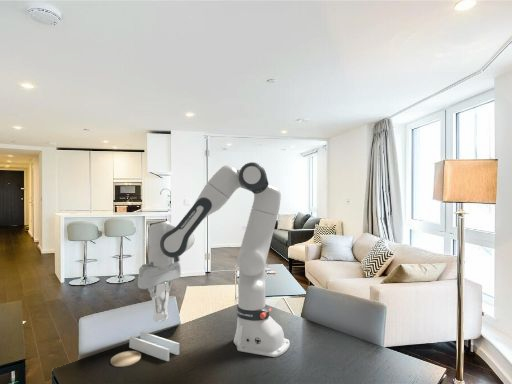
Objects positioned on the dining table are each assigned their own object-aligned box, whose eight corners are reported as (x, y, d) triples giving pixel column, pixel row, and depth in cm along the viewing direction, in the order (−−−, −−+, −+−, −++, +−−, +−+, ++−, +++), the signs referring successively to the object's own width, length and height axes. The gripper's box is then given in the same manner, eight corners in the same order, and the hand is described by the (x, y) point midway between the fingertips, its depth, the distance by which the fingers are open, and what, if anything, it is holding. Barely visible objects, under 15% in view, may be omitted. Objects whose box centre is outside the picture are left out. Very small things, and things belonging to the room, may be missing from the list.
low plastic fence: (179, 354, 110) (179, 343, 110) (167, 361, 105) (167, 349, 105) (141, 341, 120) (142, 331, 120) (129, 347, 115) (129, 337, 115)
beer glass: (164, 322, 119) (163, 284, 119) (148, 321, 120) (147, 283, 120) (172, 315, 125) (172, 279, 126) (157, 314, 127) (157, 279, 127)
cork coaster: (147, 356, 109) (147, 355, 109) (123, 369, 100) (123, 368, 100) (128, 349, 113) (128, 348, 113) (104, 361, 105) (104, 360, 105)
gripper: (145, 266, 113) (145, 303, 112) (183, 256, 131) (183, 288, 130) (133, 264, 116) (134, 300, 115) (172, 255, 134) (172, 286, 133)
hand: (160, 294), depth 123 cm, fingers closed on beer glass, 6 cm apart
